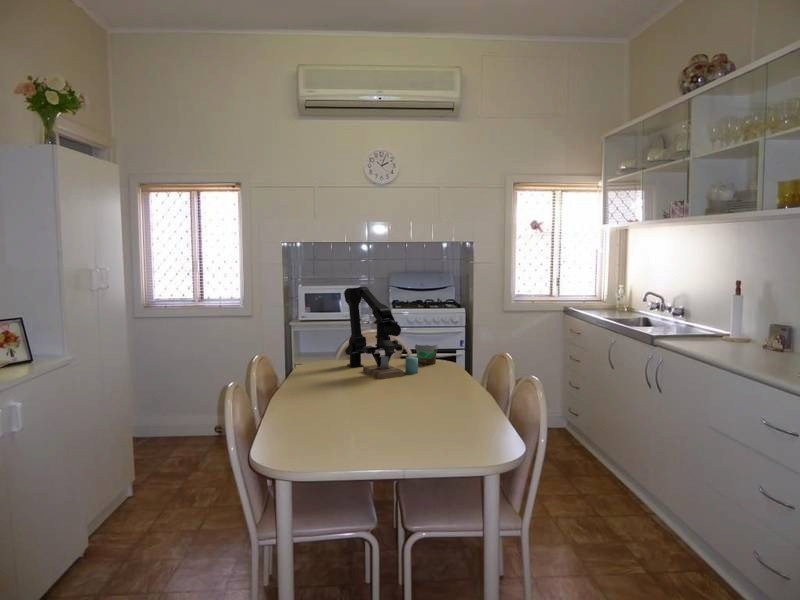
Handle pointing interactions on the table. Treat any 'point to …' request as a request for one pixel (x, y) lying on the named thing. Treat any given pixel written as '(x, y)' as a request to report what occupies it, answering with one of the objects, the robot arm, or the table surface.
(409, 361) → the round bit
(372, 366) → the bore block
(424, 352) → the food container
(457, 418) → the table surface
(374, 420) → the table surface
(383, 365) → the square bit
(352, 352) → the robot arm
